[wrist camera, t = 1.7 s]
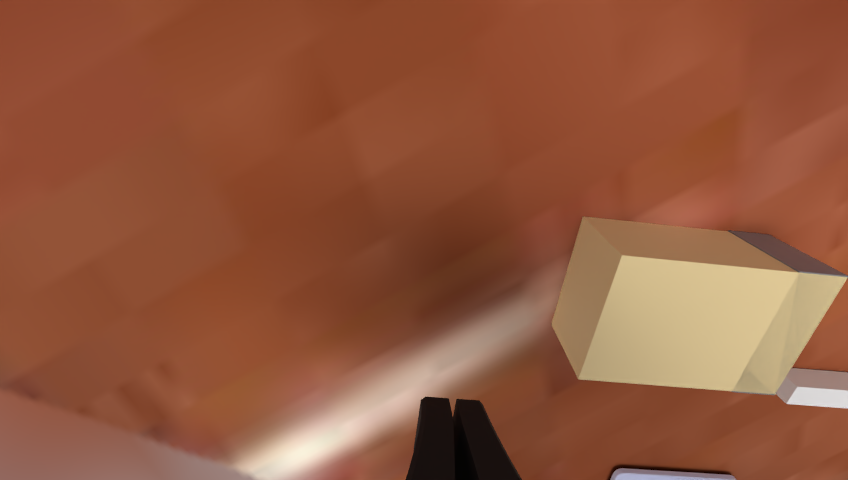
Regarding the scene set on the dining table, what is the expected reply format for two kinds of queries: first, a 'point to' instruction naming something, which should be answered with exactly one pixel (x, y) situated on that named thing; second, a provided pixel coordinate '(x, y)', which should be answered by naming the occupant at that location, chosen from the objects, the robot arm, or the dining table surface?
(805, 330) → the block
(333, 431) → the dining table surface
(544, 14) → the dining table surface
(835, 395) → the end holder
